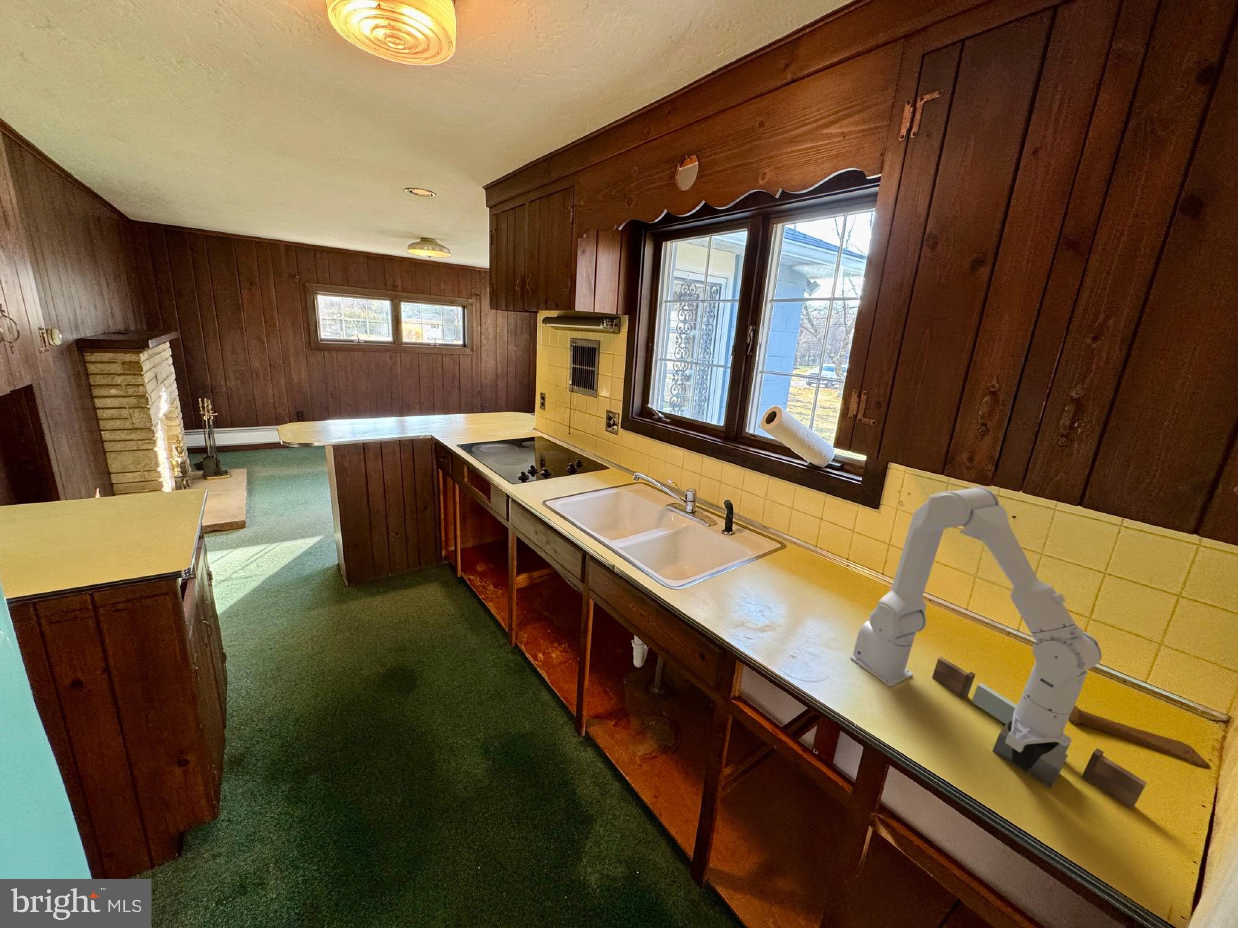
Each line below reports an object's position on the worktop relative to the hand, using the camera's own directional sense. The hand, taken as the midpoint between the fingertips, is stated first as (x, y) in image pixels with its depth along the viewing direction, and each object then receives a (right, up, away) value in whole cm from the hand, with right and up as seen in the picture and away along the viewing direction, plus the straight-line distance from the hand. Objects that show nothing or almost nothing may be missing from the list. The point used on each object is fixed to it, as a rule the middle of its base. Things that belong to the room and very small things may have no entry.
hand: (1020, 765), depth 77 cm
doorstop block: (+3, -1, +2) cm, 4 cm away
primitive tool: (+29, -1, +9) cm, 30 cm away
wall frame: (+7, +1, +8) cm, 11 cm away
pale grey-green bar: (+7, +1, +9) cm, 11 cm away
